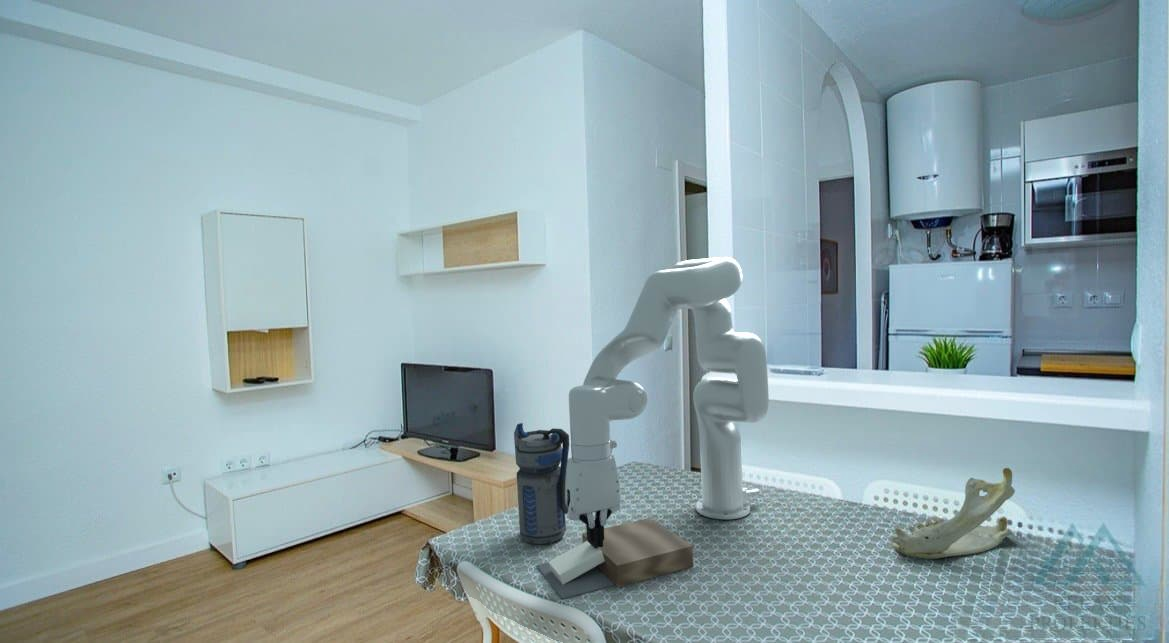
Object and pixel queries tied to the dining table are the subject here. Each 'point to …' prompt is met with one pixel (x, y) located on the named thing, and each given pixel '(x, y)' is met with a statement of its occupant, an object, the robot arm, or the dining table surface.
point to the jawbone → (961, 524)
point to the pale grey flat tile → (576, 562)
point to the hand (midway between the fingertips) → (596, 544)
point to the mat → (576, 582)
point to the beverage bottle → (541, 483)
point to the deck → (642, 552)
